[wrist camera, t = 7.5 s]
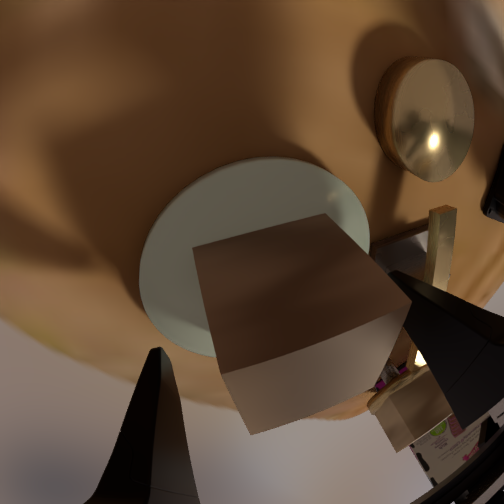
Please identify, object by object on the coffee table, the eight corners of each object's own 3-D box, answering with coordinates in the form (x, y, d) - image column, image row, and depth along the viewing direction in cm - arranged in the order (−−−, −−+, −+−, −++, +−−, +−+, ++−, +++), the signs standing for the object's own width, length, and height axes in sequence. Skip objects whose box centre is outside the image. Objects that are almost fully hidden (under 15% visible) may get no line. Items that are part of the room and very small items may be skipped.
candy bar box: (376, 393, 29) (433, 491, 16) (372, 384, 26) (437, 497, 13) (445, 341, 28) (508, 430, 15) (448, 325, 25) (522, 425, 12)
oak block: (430, 369, 16) (457, 408, 13) (413, 392, 18) (435, 426, 15) (388, 395, 15) (415, 440, 12) (374, 414, 18) (396, 452, 15)
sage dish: (385, 177, 11) (399, 185, 11) (317, 334, 16) (324, 346, 16) (144, 139, 8) (141, 145, 7) (145, 347, 13) (146, 362, 12)
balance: (370, 49, 8) (474, 57, 4) (450, 65, 9) (530, 87, 5) (340, 378, 22) (364, 422, 18) (391, 353, 23) (417, 391, 19)
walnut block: (325, 212, 10) (412, 301, 6) (321, 304, 13) (373, 386, 9) (192, 247, 9) (221, 374, 6) (220, 336, 12) (250, 435, 8)
